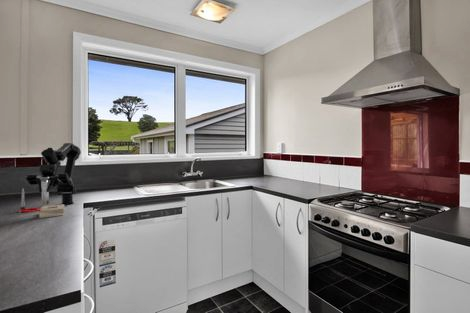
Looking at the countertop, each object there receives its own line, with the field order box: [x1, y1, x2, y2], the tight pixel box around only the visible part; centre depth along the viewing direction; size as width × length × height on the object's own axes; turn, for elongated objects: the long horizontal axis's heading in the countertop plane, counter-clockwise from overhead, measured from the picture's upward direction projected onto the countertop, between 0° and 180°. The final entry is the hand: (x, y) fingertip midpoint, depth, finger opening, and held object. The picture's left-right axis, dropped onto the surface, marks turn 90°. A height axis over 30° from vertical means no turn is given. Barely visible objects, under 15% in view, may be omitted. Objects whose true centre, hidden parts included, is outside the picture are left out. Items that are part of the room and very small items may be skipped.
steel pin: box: [40, 176, 50, 206], centre depth 132 cm, size 4×4×14 cm
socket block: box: [38, 204, 65, 219], centre depth 135 cm, size 12×10×4 cm
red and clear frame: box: [17, 188, 41, 214], centre depth 143 cm, size 8×13×9 cm
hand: (43, 191), depth 131 cm, fingers closed on steel pin, 3 cm apart
